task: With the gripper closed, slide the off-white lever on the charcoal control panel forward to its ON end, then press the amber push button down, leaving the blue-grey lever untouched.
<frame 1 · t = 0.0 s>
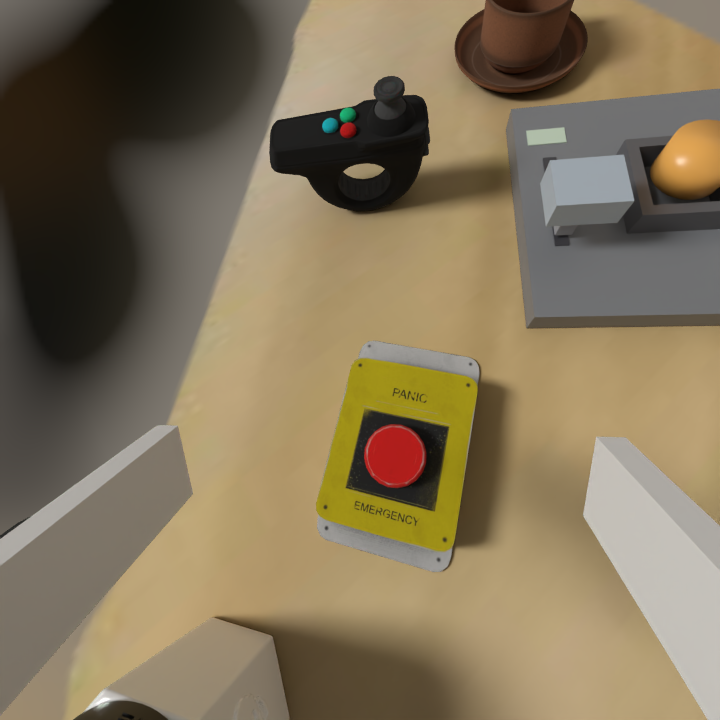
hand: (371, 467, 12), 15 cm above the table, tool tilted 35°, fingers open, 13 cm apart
amber button: (697, 160, 25), point 5 cm above the table, slide at 0.0 cm
controller: (359, 202, 34), on the table
control panel: (652, 211, 30), on the table
slate lever: (575, 206, 25), point 5 cm above the table, slide at 0.0 cm
jar: (226, 692, 24), on the table
emergency button: (401, 445, 27), on the table
cup and saucer: (513, 64, 37), on the table
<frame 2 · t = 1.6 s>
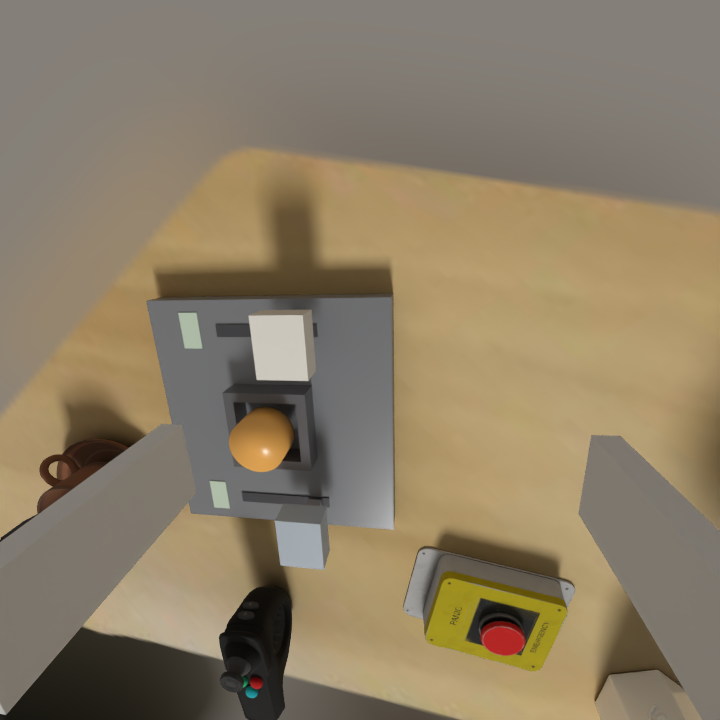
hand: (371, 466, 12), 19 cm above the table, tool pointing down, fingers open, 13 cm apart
amber button: (262, 438, 29), point 5 cm above the table, slide at 0.0 cm
controller: (280, 602, 41), on the table
control panel: (284, 411, 33), on the table
cream lever: (290, 339, 26), point 5 cm above the table, slide at 0.0 cm
slate lever: (308, 523, 31), point 5 cm above the table, slide at 0.0 cm
jar: (639, 695, 38), on the table
emergency button: (483, 592, 37), on the table
cup and saucer: (125, 479, 39), on the table
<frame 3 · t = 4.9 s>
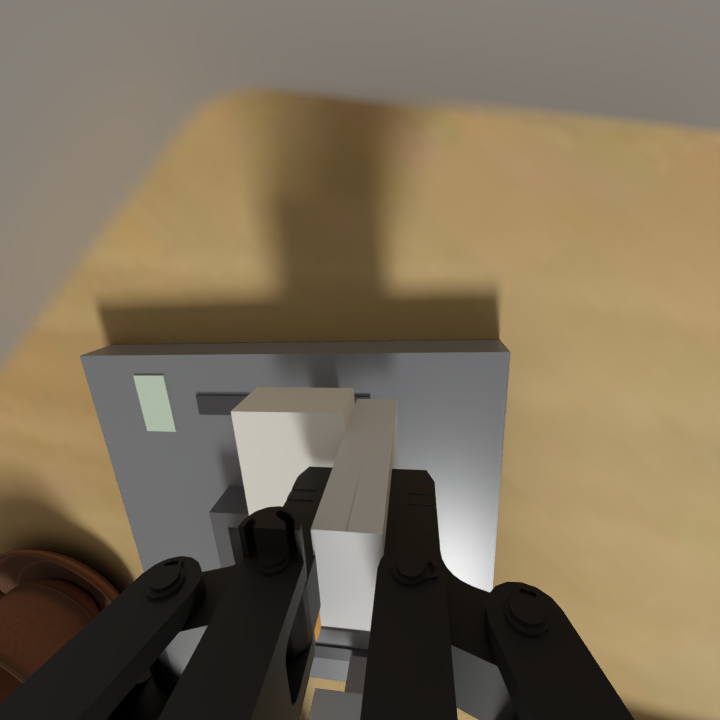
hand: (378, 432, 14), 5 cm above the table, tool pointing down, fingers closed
amber button: (279, 593, 17), point 5 cm above the table, slide at 0.0 cm
control panel: (309, 515, 21), on the table
cream lever: (312, 437, 14), point 5 cm above the table, slide at 0.7 cm, touching gripper
slate lever: (354, 713, 19), point 5 cm above the table, slide at 0.0 cm
cup and saucer: (78, 595, 27), on the table
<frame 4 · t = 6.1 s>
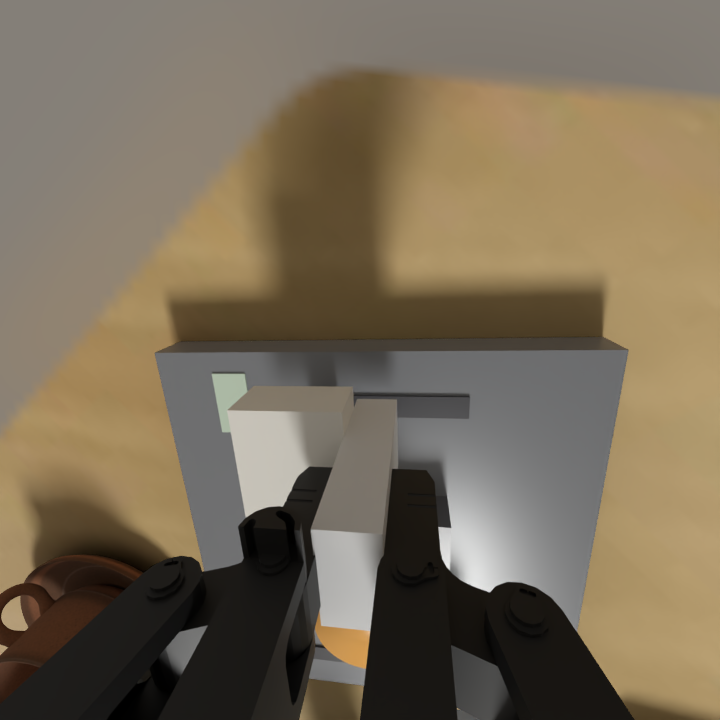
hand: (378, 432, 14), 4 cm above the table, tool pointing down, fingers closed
amber button: (370, 603, 16), point 5 cm above the table, slide at 0.0 cm
control panel: (380, 520, 21), on the table
cream lever: (310, 436, 14), point 5 cm above the table, slide at 5.0 cm, touching gripper
cup and saucer: (126, 601, 26), on the table
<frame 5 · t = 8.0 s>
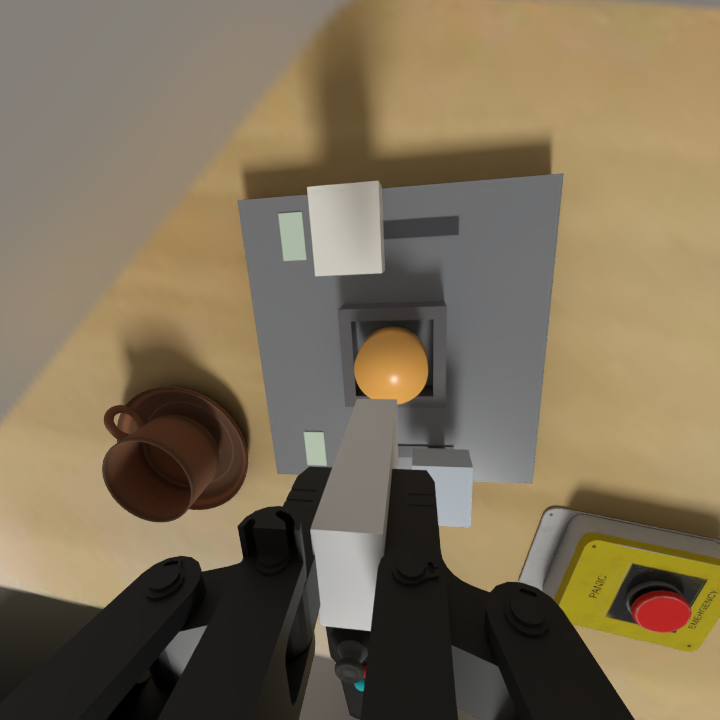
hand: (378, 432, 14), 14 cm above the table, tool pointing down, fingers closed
amber button: (391, 364, 23), point 5 cm above the table, slide at 0.0 cm
controller: (371, 581, 36), on the table
control panel: (395, 343, 28), on the table
cream lever: (352, 231, 21), point 5 cm above the table, slide at 5.0 cm
slate lever: (439, 474, 25), point 5 cm above the table, slide at 0.0 cm
emergency button: (616, 560, 32), on the table
cup and saucer: (194, 439, 34), on the table
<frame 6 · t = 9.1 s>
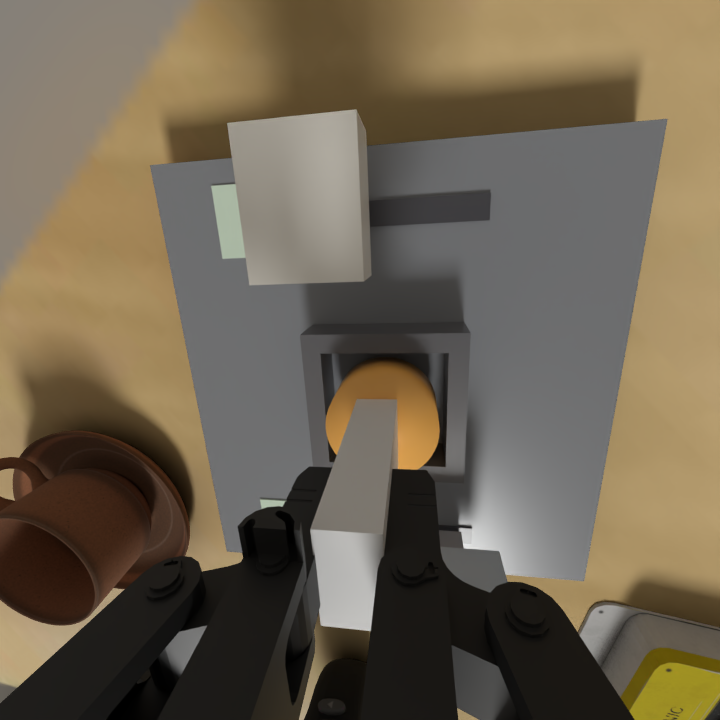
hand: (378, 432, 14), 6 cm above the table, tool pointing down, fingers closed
amber button: (383, 415, 15), point 4 cm above the table, slide at 0.6 cm, touching gripper
controller: (357, 678, 27), on the table
control panel: (390, 378, 19), on the table
cream lever: (318, 211, 13), point 5 cm above the table, slide at 5.0 cm
slate lever: (453, 579, 17), point 5 cm above the table, slide at 0.0 cm
emergency button: (685, 669, 23), on the table
cup and saucer: (123, 495, 25), on the table
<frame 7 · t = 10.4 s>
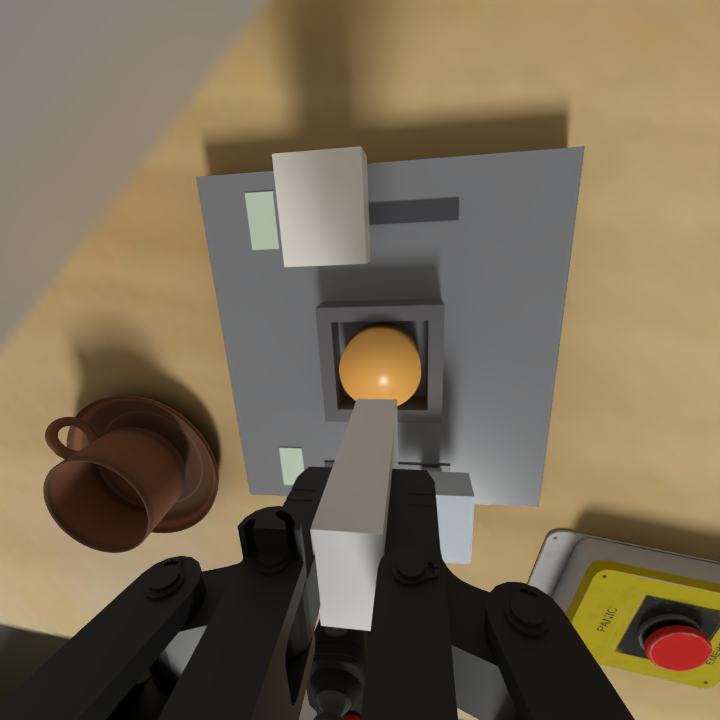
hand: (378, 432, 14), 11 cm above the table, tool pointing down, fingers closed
amber button: (381, 364, 21), point 4 cm above the table, slide at 1.5 cm
controller: (358, 608, 32), on the table
control panel: (384, 347, 24), on the table
cream lever: (331, 213, 17), point 5 cm above the table, slide at 5.0 cm
slate lever: (434, 499, 22), point 5 cm above the table, slide at 0.0 cm
emergency button: (625, 586, 29), on the table
cup and saucer: (158, 453, 30), on the table
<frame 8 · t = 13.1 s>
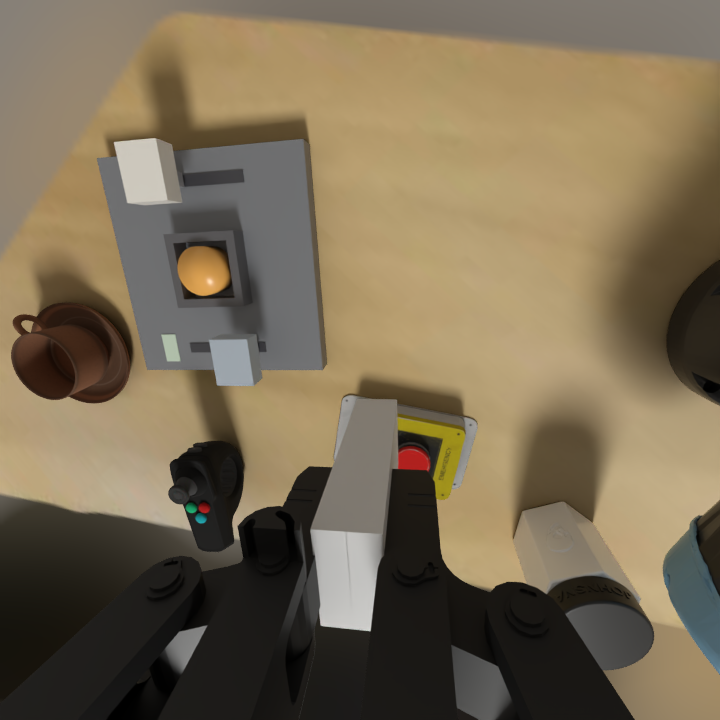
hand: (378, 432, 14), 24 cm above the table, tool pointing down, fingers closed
amber button: (206, 270, 35), point 4 cm above the table, slide at 1.5 cm
controller: (234, 465, 46), on the table
control panel: (225, 267, 38), on the table
cream lever: (160, 176, 31), point 5 cm above the table, slide at 5.0 cm
slate lever: (243, 355, 35), point 5 cm above the table, slide at 0.0 cm
jar: (551, 530, 43), on the table
emergency button: (402, 439, 42), on the table
cup and saucer: (94, 349, 44), on the table
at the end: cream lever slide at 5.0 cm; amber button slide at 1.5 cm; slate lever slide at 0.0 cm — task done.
